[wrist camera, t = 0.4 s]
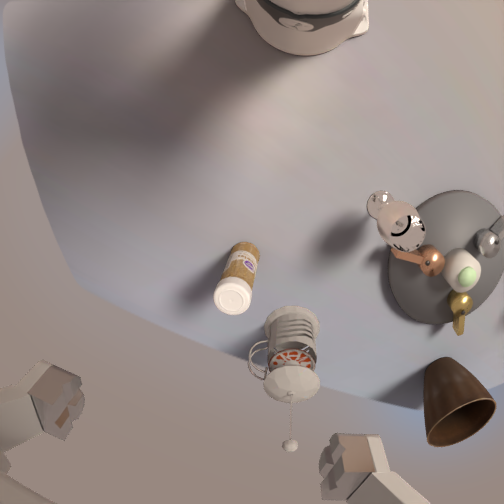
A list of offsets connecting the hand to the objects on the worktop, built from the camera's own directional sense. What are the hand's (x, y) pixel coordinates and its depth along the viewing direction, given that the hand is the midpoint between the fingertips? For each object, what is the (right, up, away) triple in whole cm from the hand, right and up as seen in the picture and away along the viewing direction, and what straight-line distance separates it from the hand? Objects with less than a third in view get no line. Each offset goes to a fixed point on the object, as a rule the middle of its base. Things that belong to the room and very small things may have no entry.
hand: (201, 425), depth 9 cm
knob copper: (+26, +5, +36) cm, 45 cm away
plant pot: (+42, -20, +48) cm, 67 cm away
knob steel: (+41, +9, +33) cm, 53 cm away
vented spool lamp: (+8, -8, +47) cm, 48 cm away
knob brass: (+38, -5, +39) cm, 54 cm away
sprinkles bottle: (0, +5, +42) cm, 42 cm away
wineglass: (+21, +12, +36) cm, 43 cm away
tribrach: (+35, +4, +38) cm, 52 cm away
